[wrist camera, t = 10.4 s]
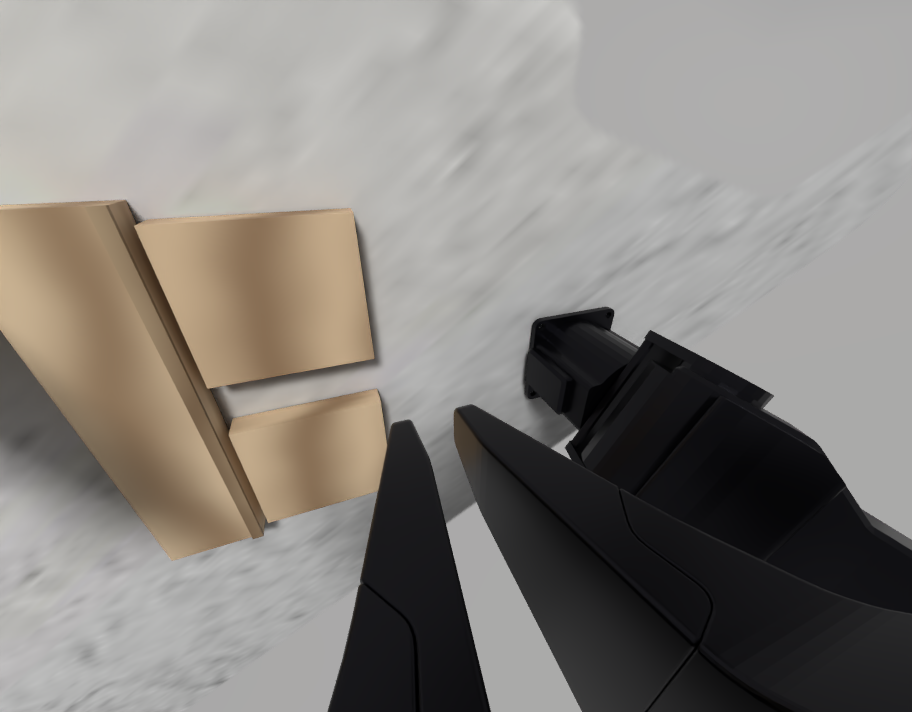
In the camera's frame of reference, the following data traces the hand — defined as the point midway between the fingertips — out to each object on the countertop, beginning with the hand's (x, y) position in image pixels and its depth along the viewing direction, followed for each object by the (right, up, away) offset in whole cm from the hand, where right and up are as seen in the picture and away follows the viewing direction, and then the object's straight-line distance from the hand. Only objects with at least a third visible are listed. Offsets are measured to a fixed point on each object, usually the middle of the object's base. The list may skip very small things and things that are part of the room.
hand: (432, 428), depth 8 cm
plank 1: (-8, +5, +10) cm, 14 cm away
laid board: (-15, -1, +10) cm, 18 cm away
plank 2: (-8, -4, +15) cm, 18 cm away
